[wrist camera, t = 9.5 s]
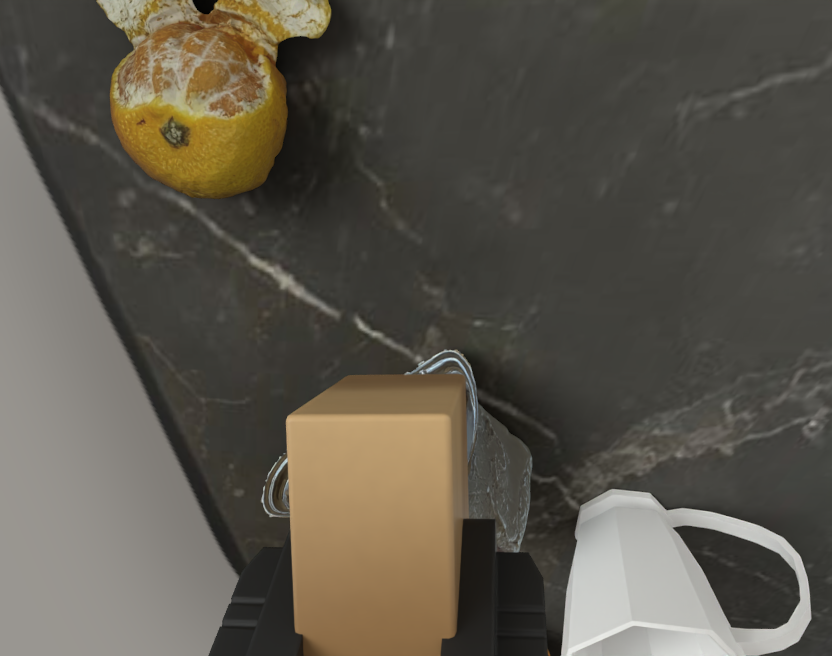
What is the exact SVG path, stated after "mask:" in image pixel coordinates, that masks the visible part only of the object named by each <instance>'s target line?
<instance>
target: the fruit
mask: <svg viewBox="0 0 832 656" xmlns="http://www.w3.org/2000/svg"><path fill="white" fill-rule="evenodd" d="M96 1H97V3H98V4H99V6H100V7H101V8H102V9H103V10H104V11H105V13H106V15H107V17H108V18H109V19H110V20H111V21H112V22H113V23H114V24H115V25H116V26H117V27H119V28H121V29H122V30H123V31H124V32H125V33H126V34H127V36H128V39H129V41H130V43H131V44H132V45H133V47H134V50H133V51H132V52H131V53H129V54H128V55H127V56H126V57H125V58H124V59H123V60H122V61H121V62H120V64H119V65H118V66H117V67H116V68H115V70H114V73H113V75H112V78H111V88H110V106H111V116H112V122H113V124H114V128H115V131H116V133H117V135H118V137H119V139H120V141H121V145H122V147H123V148H124V149H125V151H126V152H127V153H128V154H129V156H130V157H131V158H132V159H133V161H134V162H135V163H136V164H138V165H139V166H140V167H141V168H142V169H143V171H144V172H145V173H146V174H147V175H148V176H150V177H151V178H153V179H154V180H157V181H159V182H161V183H162V184H164V185H166V186H169V187H171V188H173V189H175V190H176V191H179V192H181V193H185V194H186V195H188V196H190V197H192V198H193V197H196V198H213V199H221V198H227V197H231V196H234V195H236V194H240V193H243V192H246V191H250V190H253V189H255V188H257V187H259V186H260V185H262V184H263V183H264V182H265V181H266V179H267V176H268V174H269V172H270V169H271V168H272V166H273V165H274V158H275V157H276V156H277V155H278V153H279V152H280V150H281V148H282V145H283V139H284V136H285V131H286V126H287V123H288V122H287V115H288V108H287V106H286V92H287V89H286V81H285V78H284V76H283V75H282V74H281V73H280V72H279V71H278V69H277V68H276V66H275V64H276V59H277V49H278V44H279V43H280V42H281V41H283V40H285V39H286V38H289V37H295V36H306V37H308V38H310V39H313V38H319V37H320V36H321V35H322V34H323V33H324V32H325V31H326V29H327V26H328V25H329V23H330V18H331V8H330V5H329V2H328V0H218V1H217V3H216V4H215V5H214V10H213V11H211V12H210V13H209V14H202V13H200V12H199V11H198V10H197V9H196V8H195V6H194V4H193V1H192V0H96Z"/></svg>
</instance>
